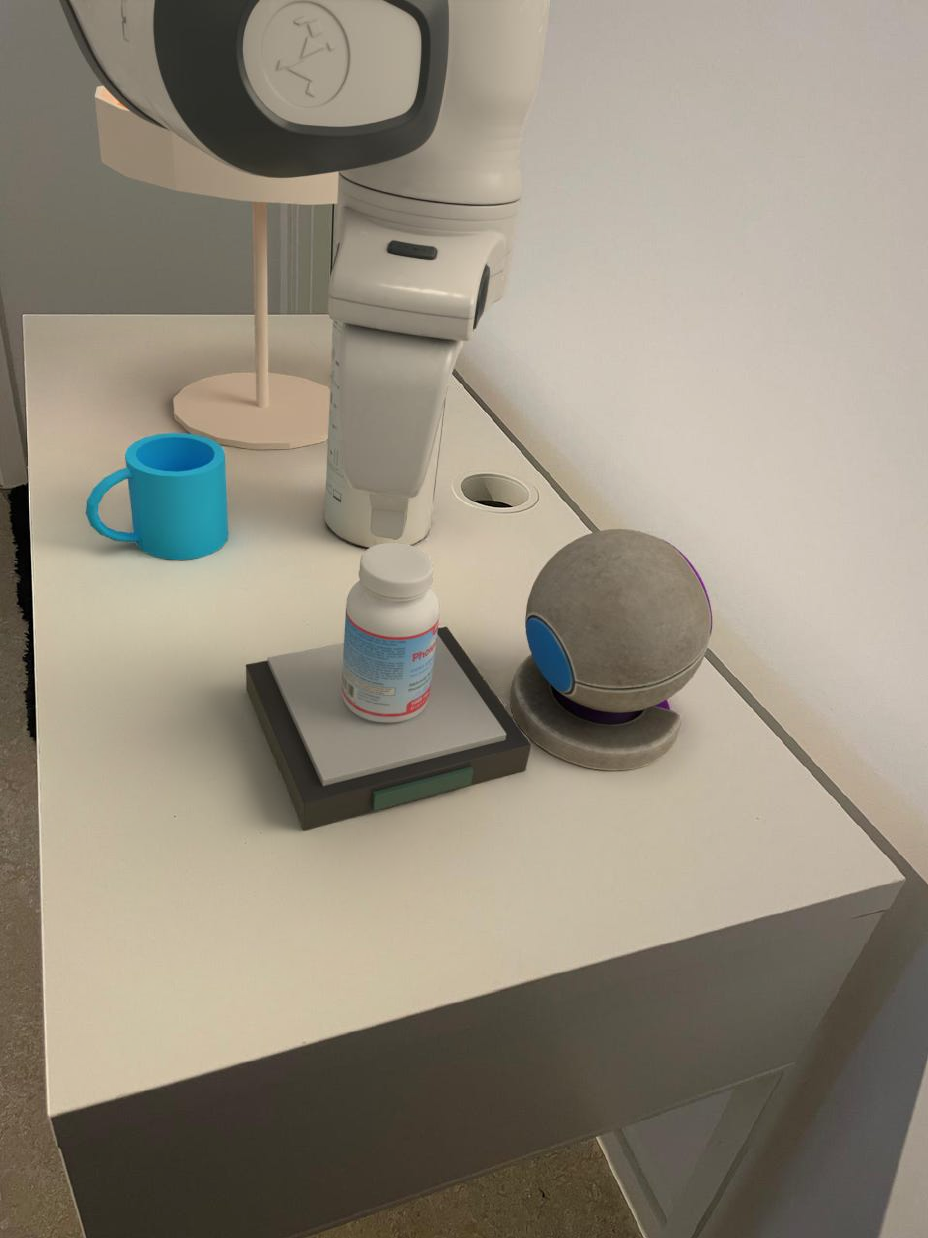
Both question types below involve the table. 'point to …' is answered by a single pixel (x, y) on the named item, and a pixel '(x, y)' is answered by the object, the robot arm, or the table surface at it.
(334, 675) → the scale
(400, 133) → the robot arm
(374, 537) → the speaker
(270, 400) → the desk lamp
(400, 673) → the pill bottle
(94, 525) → the mug
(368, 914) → the table surface
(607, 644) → the webcam
